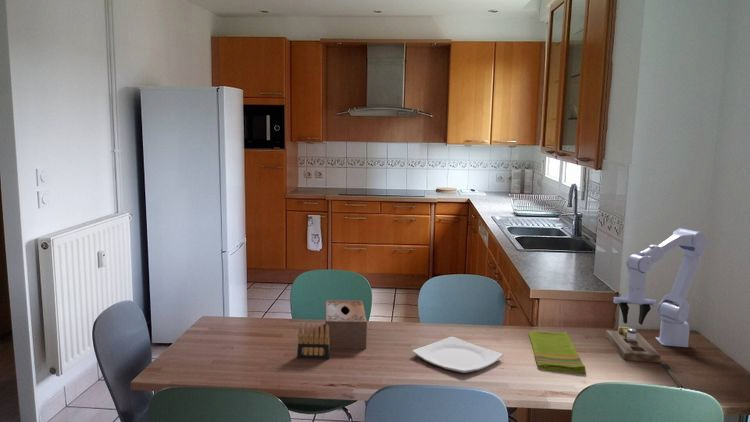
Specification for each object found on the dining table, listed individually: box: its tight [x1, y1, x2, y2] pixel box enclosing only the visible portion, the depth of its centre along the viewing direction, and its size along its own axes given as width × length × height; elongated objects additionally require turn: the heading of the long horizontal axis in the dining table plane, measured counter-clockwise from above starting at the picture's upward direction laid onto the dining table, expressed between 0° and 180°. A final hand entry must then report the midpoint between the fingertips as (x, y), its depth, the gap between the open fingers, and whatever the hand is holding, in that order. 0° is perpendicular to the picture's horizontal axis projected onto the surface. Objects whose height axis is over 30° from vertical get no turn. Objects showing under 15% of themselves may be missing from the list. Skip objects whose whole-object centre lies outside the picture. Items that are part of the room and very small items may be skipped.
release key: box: [617, 326, 630, 337], centre depth 219 cm, size 4×5×2 cm
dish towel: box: [528, 330, 587, 375], centre depth 206 cm, size 15×36×3 cm, turn 170°
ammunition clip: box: [296, 322, 330, 360], centre depth 192 cm, size 11×2×12 cm, turn 91°
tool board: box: [605, 329, 661, 363], centre depth 212 cm, size 12×24×2 cm, turn 173°
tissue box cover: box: [324, 299, 368, 349], centre depth 214 cm, size 26×14×10 cm, turn 5°
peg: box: [626, 327, 638, 343], centre depth 213 cm, size 3×3×7 cm
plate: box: [411, 336, 504, 374], centre depth 196 cm, size 24×24×3 cm
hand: (632, 323), depth 212 cm, fingers open, 5 cm apart
